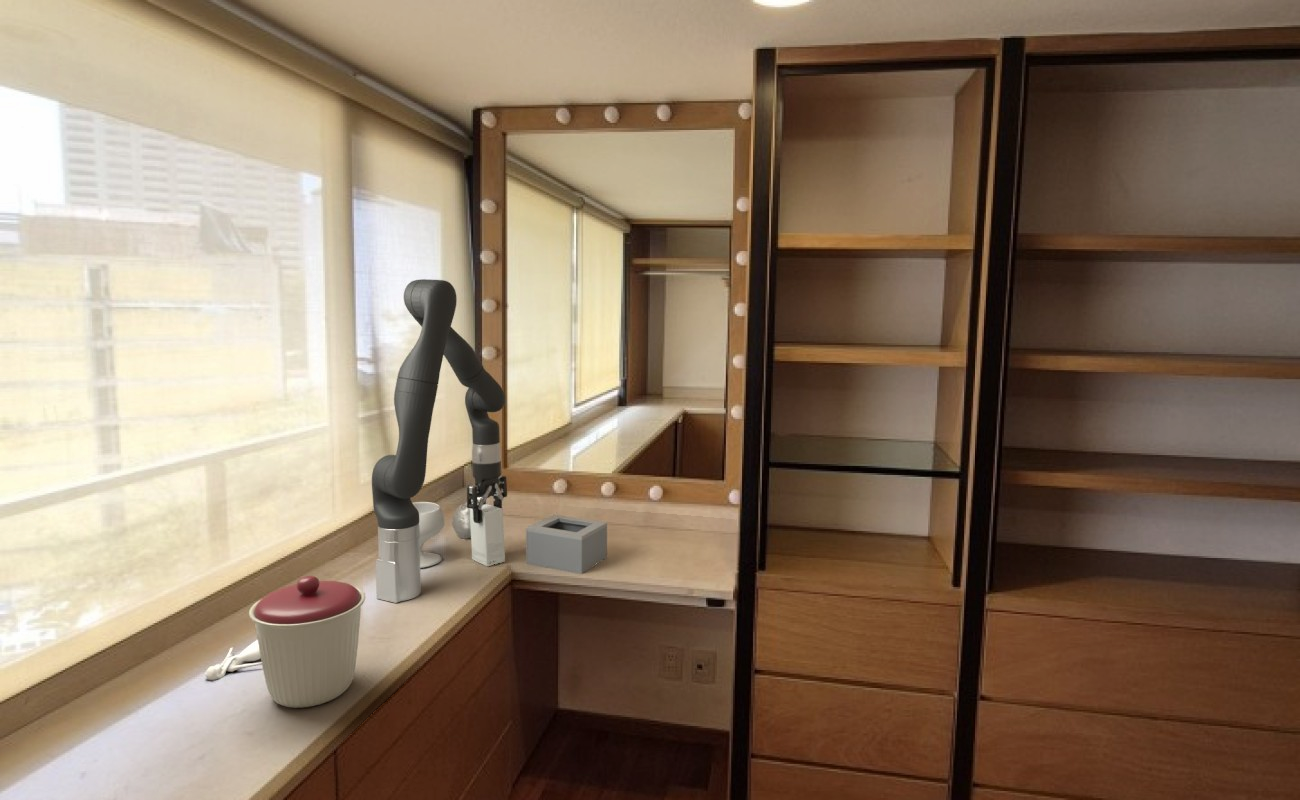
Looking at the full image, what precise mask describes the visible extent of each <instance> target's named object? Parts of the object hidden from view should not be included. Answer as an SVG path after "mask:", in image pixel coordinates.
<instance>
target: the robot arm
mask: <svg viewBox="0 0 1300 800" xmlns="http://www.w3.org/2000/svg"><path fill="white" fill-rule="evenodd" d="M403 291H404V292H403V302H404V305H405V307H406V309H407V311H408V312H409V314H410V315H411V317H413V319H414V320H415V321H416V322H417V323H418V325H419V326H421V331H420V334H419V336H418V338H417V341H416V343H415V344H414V345H413V348H412V349H410V352H409V353H408V354H407V356H406V357H405V359H404V360H403V362H402V363H401V366H400V367H399V370H398V372H397V373H398V374H397V377H396V382H395V387H394V388H395V389H394V395H393V403H394V412H395V416H396V421H397V426H398V443H397V447H396V454H388V455H385V456H383V457H381V458H379V459H378V460H377V462H376V463H375V464H374V467H373V470H372V473H371V491H372V492H371V493H372V505H373V506H372V507H373V511H374V514H375V517H376V520H377V538H378V539H377V544H378V547H377V548H378V558H376V559H375V582H376V584H375V585H376V599H377V600H378V599H379V600H383V601H387V602H391V603H394V604H397V603H399V602H404V601H408V600H412V599H415V598H416V597H419V596H420V595H421V592H422V585H421V584H422V578H421V568H420V528H419V512H418V510H417V509H416V507H415V506H414V505H413V501H412V498H413V497H415V496H417V494H419V492H420V491H421V489H422V487H423V485H424V483H425V478H426V473H427V461H428V460H427V459H428V458H427V457H428V447H429V445H428V444H429V437H430V432H431V431H430V430H431V426H432V425H431V424H432V418H433V414H434V407H435V402H436V398H437V393H438V387H439V381H440V374H441V368H442V362H443V359H444V358H445V359H446V361H447V362H448V365H449V366H450V368H451V369H452V371H453V372H454V374H455V376H456V378H457V379H458V381H459V383H460V384H461V385H462V386H464V387H466V388H467V390H466V392H465V396H464V405H465V408H466V412H467V415H468V419H469V422H470V425H471V429H472V430H471V431H472V432H471V433H472V436H471V437H472V448H471V463H472V464H471V465H472V467H471V469H472V472H471V473H472V477H473V479H474V480H475V484H474V485H467V487H466V502H467V508H471V509H473V520H474V522H475V523H482V509H481V508H482V506H483V505H484V503H486V502H487V500H488V499H489V498H490V497H492V499H493V502H492V503H493V504H492V505H493V506H495V507H498V508H501V509H503V500H504V498H507V497H508V485H507V476H506V475H502V449H501V443H500V441H501V438H500V424H499V422H497V421H496V420H494V419H492V418H491V417H490V416H489V413H497V412H499V411H501V410H502V409H503V407H504V406H505V403H506V396H505V392H504V390H503V388H502V387H501V385H500V383H498V382H497V380H496V379H495V378H494V377H493V376H492V375H491V374H490V373H489V372H488V371H487V370H486V369H485V368H484V366H483V363H482V362H481V360H480V358H479V356H478V355H477V353H476V351H475V350H474V348H473V347H472V346H471V345H470V343H468V342H467V340H465V339H464V338H463V337H462V336H461V335H460V334H459V333H458V332H457V330H455V329H454V328H453V327H452V323H453V320H454V316H455V313H456V309H457V308H456V307H457V299H458V298H457V292H456V289H455V287H454V285H453V284H452V283H451V282H449V280H444V279H425V278H424V279H423V278H422V279H415V280H412V281H410V282H409V283H408V284H407V285H406V287H405V288H404V290H403ZM471 500H473V503H472V504H471ZM478 501H480V502H479V504H478V505H477V502H478Z"/></svg>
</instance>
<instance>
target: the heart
mask: <svg viewBox="0 0 1300 800" xmlns="http://www.w3.org/2000/svg"><path fill="white" fill-rule="evenodd" d="M479 502H480V501H478V502H477V505H478V504H479ZM472 503H473V500H471V504H472ZM451 525H452V528H453V530H454V532H455V533H456V535H457V536H458V537H460V538H461V539H463V540H467V539H470V538H471V526H470V508H467V501H465V503H462V504H460V505H459V506H458V507H457V508H456V509H455V511H454V512H453V515H452V521H451Z"/></svg>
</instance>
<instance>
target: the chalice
mask: <svg viewBox="0 0 1300 800" xmlns="http://www.w3.org/2000/svg"><path fill="white" fill-rule="evenodd" d="M412 503H413V505H414V506H415V507H416V509H417V510H418V512H419V528H420V569H422V568H428V567H432V566H435V565H437V564H439V563H440V562H441V561H442V560H443V559H442V556H441V555H439V554H437V553H434V552H425V551H424V552H423V550H422V548H423V546H424V544H425V543H426V542H427V541H429V540H430V539H432V538H433V537H435V536H437V535H438V534H440V533H441V531H442V530H443V529H444V527H445V517H444V513H443V510H442V507H441V506H440V505H439V504H437V503H435V502H431V501H430V502H429V501H416V502H413V501H412Z"/></svg>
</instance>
